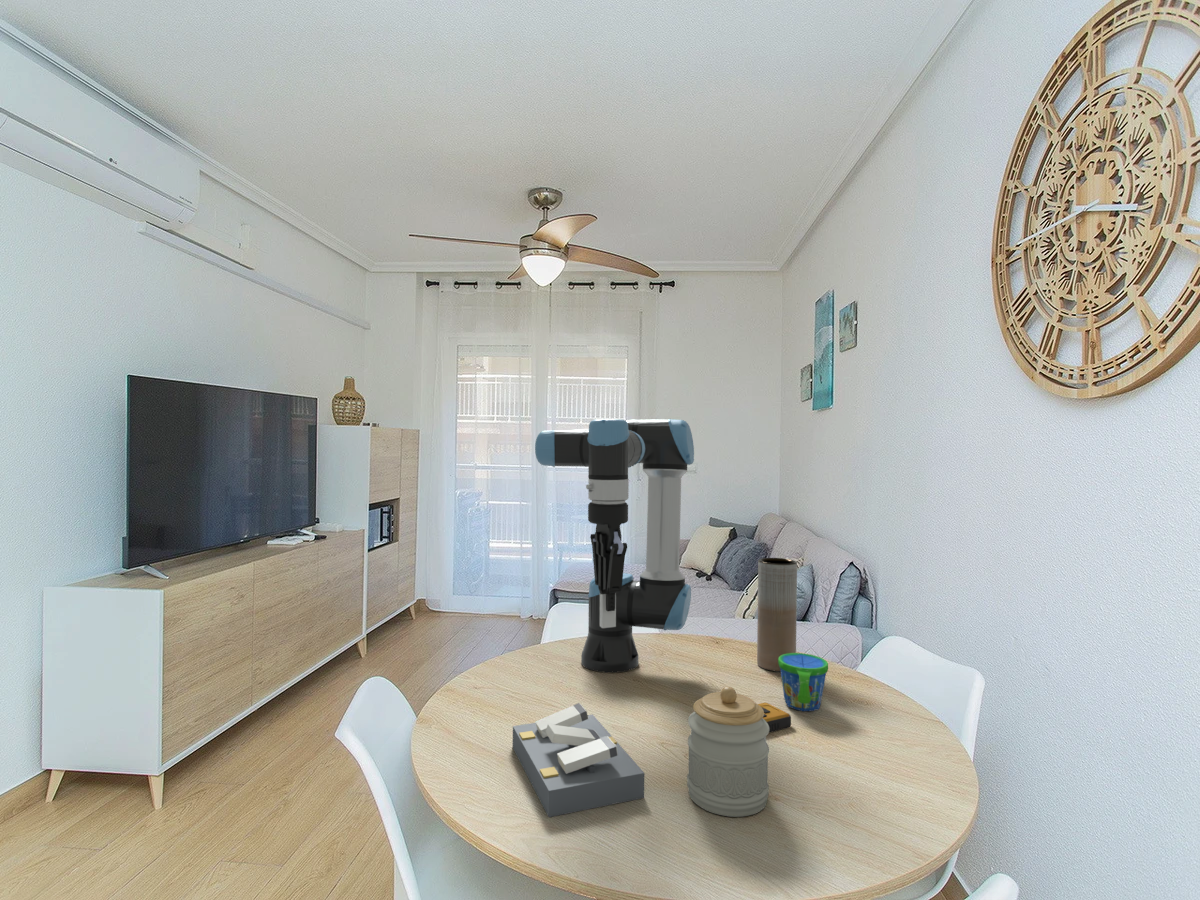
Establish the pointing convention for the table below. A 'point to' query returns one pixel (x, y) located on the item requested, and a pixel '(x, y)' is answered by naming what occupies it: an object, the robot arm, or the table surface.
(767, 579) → the vase
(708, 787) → the jar
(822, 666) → the snack cup
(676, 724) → the table surface
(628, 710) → the table surface
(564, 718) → the rocker far
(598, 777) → the switch unit
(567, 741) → the rocker mid
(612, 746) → the rocker near
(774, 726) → the electronic device
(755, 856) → the table surface
